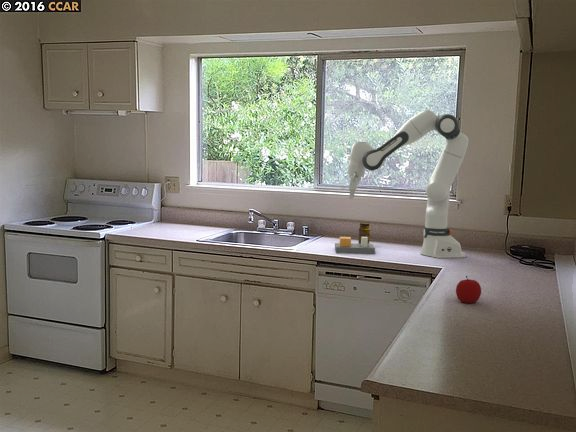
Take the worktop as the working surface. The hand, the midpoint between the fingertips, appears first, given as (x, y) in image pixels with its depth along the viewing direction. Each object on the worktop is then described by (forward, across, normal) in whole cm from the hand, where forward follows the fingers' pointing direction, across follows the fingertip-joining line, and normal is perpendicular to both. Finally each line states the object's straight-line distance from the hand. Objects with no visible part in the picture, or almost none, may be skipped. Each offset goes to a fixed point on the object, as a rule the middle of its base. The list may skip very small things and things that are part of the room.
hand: (351, 198), depth 325 cm
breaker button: (+24, -5, -11) cm, 26 cm away
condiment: (+27, +14, -10) cm, 32 cm away
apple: (+20, -92, -53) cm, 108 cm away
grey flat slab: (+27, -5, -6) cm, 28 cm away
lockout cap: (+24, -6, -1) cm, 25 cm away
